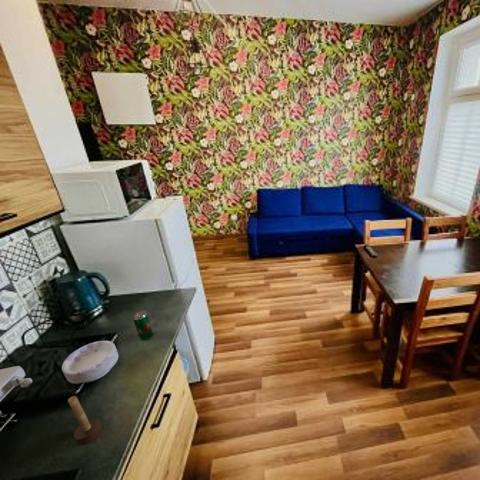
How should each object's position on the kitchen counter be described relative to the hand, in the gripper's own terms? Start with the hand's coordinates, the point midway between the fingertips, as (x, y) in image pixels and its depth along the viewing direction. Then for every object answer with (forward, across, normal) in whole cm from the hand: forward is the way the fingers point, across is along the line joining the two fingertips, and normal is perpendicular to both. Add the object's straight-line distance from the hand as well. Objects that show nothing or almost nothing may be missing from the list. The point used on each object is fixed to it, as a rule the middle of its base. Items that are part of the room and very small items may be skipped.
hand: (15, 397), depth 70 cm
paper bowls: (+1, -24, -18) cm, 31 cm away
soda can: (+12, -41, -18) cm, 46 cm away
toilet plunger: (+12, 0, -18) cm, 22 cm away
